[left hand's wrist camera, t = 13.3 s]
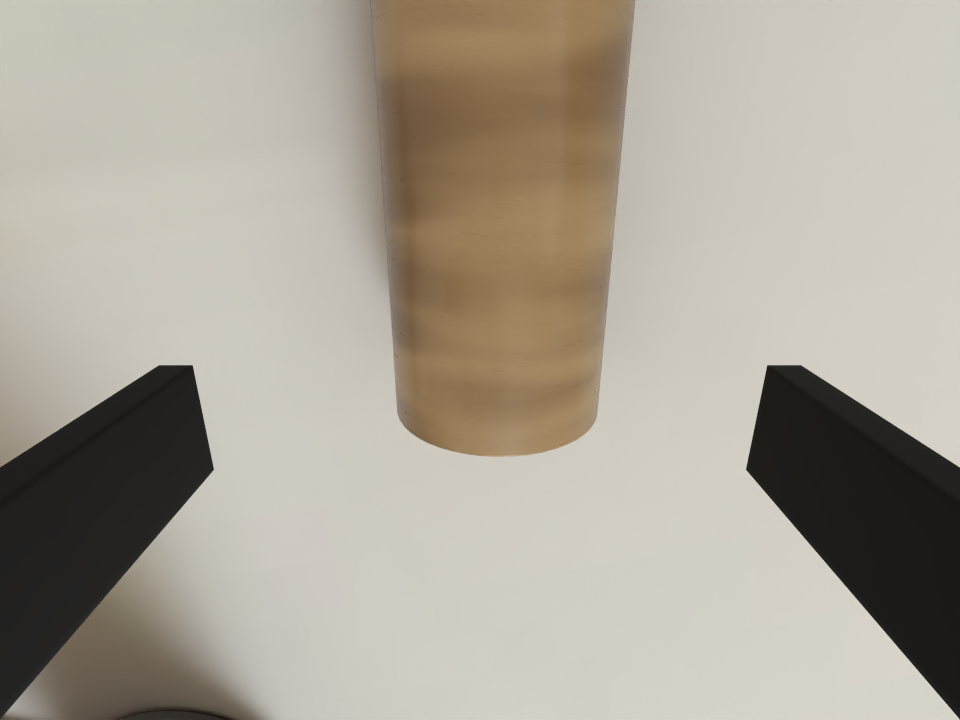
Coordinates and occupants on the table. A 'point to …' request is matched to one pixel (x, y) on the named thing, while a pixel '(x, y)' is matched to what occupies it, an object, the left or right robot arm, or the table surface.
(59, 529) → the left robot arm
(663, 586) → the table surface
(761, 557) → the table surface
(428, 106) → the brown cylinder
